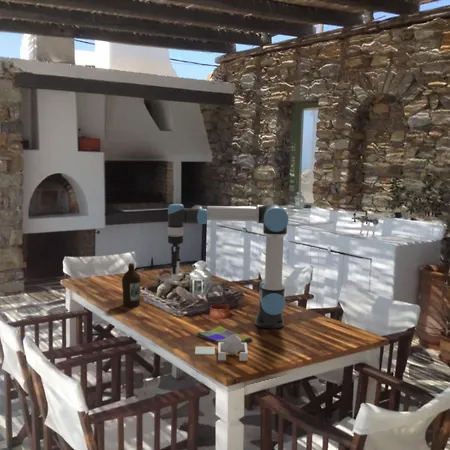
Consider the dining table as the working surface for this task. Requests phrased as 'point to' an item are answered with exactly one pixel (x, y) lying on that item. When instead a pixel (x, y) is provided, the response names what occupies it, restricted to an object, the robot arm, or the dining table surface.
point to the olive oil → (131, 287)
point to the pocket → (223, 354)
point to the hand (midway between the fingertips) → (175, 277)
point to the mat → (204, 350)
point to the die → (232, 344)
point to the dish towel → (221, 335)
